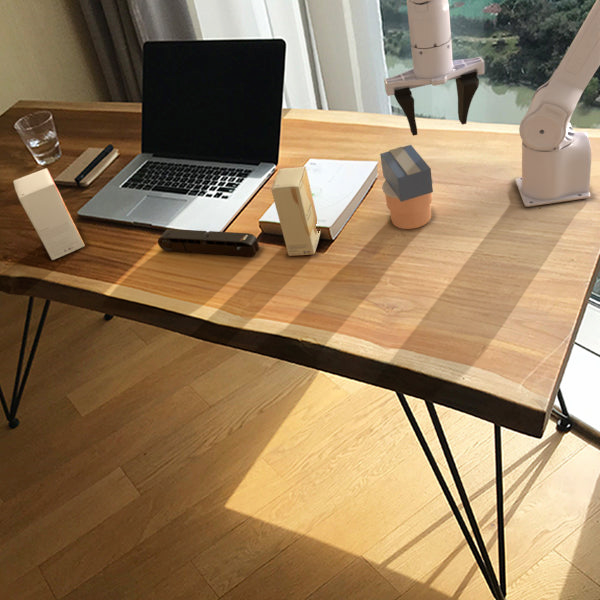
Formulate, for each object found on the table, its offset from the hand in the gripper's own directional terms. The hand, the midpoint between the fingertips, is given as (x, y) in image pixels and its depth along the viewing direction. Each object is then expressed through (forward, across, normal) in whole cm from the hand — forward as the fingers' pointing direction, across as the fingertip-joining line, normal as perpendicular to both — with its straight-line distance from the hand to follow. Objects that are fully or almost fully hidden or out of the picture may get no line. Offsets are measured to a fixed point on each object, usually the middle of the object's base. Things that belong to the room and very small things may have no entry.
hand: (438, 127), depth 106 cm
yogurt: (+10, -7, -8) cm, 15 cm away
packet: (+4, -7, -8) cm, 11 cm away
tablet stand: (+11, -40, -4) cm, 42 cm away
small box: (+11, -68, +8) cm, 69 cm away
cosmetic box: (+11, -24, -9) cm, 28 cm away
